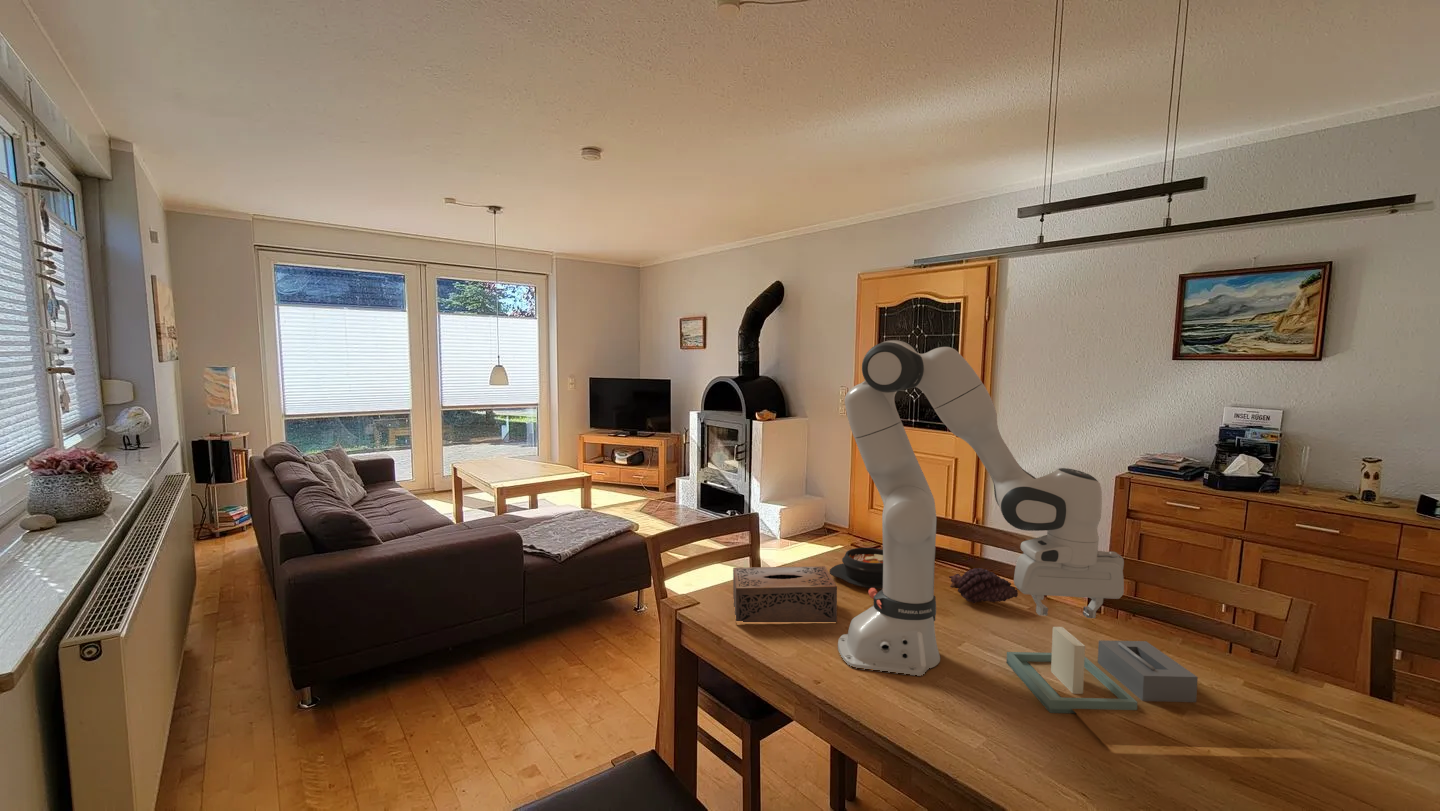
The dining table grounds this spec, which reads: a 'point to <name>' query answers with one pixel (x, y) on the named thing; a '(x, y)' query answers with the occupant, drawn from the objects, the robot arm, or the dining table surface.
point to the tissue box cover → (784, 594)
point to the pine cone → (982, 586)
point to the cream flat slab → (1068, 659)
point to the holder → (1147, 671)
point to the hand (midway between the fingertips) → (1065, 615)
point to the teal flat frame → (1051, 696)
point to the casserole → (861, 568)
